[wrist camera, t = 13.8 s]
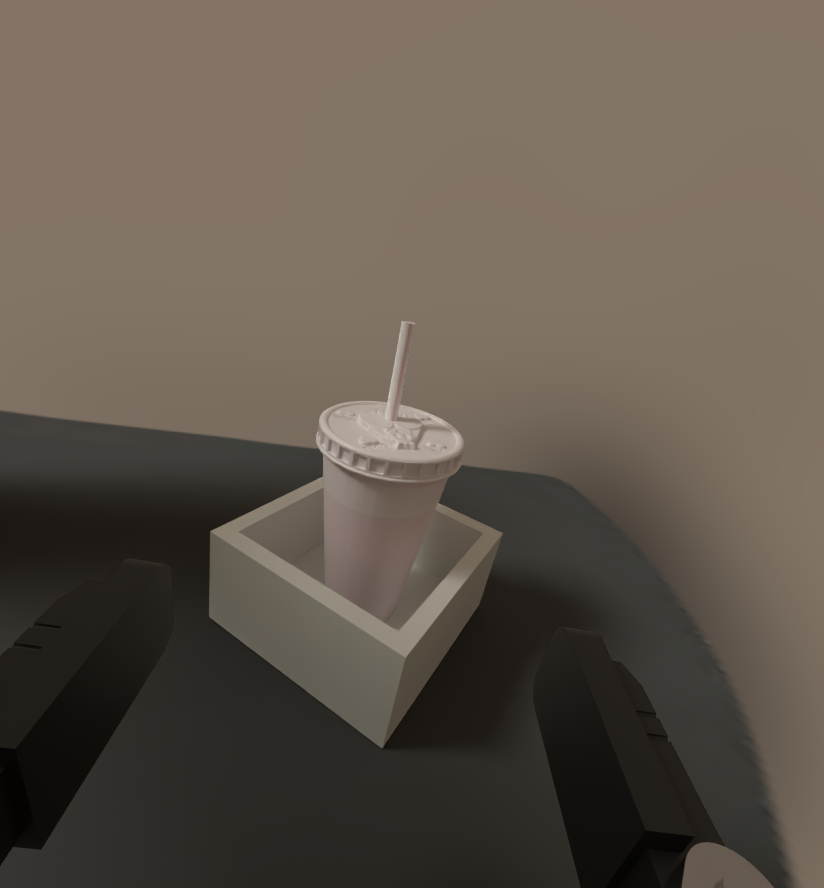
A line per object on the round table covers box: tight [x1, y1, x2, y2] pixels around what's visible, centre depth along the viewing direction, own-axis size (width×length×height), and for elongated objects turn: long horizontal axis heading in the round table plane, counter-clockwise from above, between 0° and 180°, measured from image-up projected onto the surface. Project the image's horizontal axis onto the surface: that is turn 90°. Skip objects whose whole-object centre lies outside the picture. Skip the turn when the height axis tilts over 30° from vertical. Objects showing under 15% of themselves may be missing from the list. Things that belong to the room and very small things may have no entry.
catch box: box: [209, 477, 503, 748], centre depth 23 cm, size 10×10×5 cm
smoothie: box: [316, 321, 464, 622], centre depth 20 cm, size 6×6×14 cm
